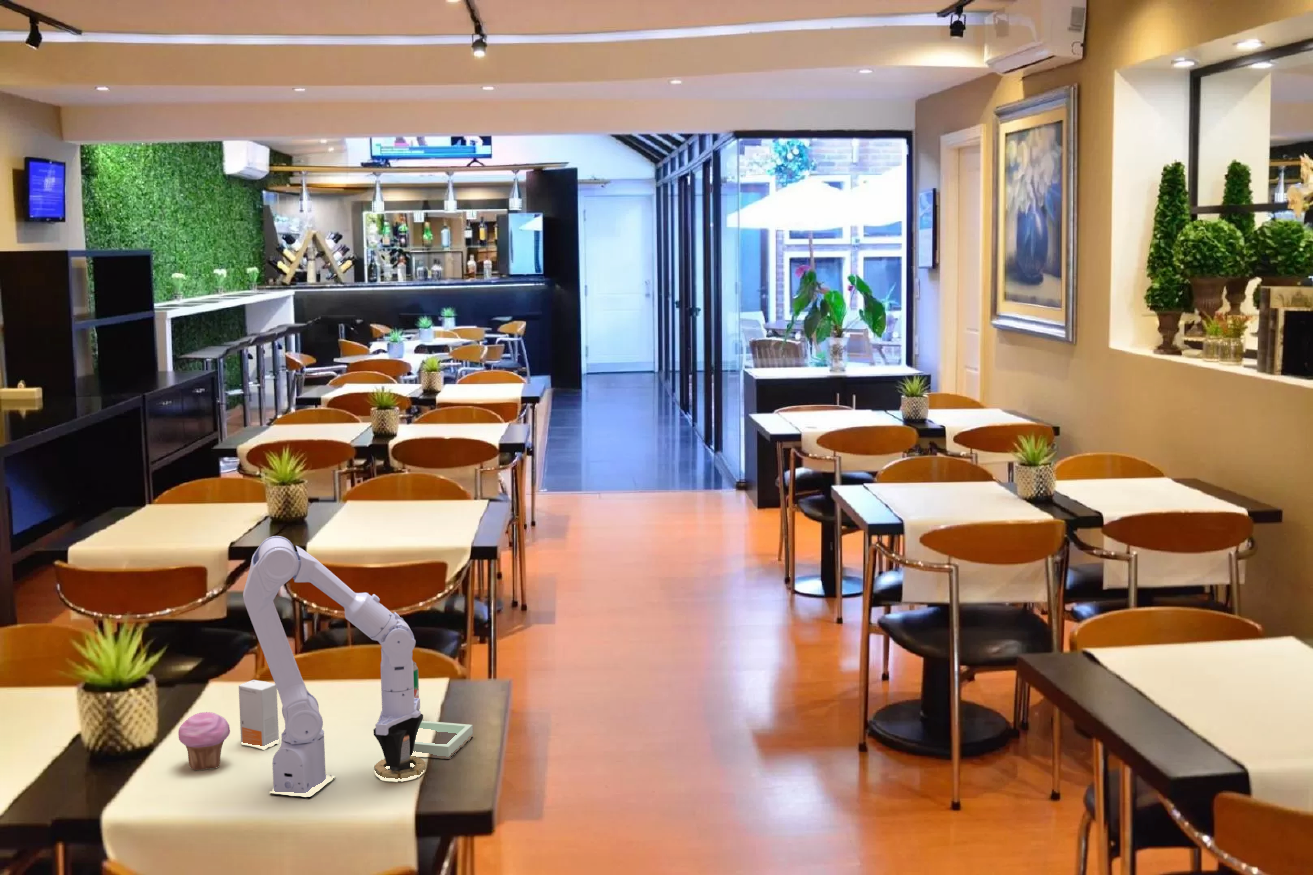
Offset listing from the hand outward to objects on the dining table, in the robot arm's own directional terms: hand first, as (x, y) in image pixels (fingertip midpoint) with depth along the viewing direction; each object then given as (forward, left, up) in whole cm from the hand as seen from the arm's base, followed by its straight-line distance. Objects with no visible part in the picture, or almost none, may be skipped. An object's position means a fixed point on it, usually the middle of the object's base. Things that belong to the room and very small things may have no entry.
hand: (399, 760), depth 239 cm
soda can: (+25, +10, -3) cm, 27 cm away
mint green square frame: (+14, 0, -2) cm, 14 cm away
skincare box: (+7, +32, -3) cm, 33 cm away
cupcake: (-5, +36, -3) cm, 36 cm away
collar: (0, 0, -2) cm, 2 cm away
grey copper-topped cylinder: (0, 0, -2) cm, 2 cm away
